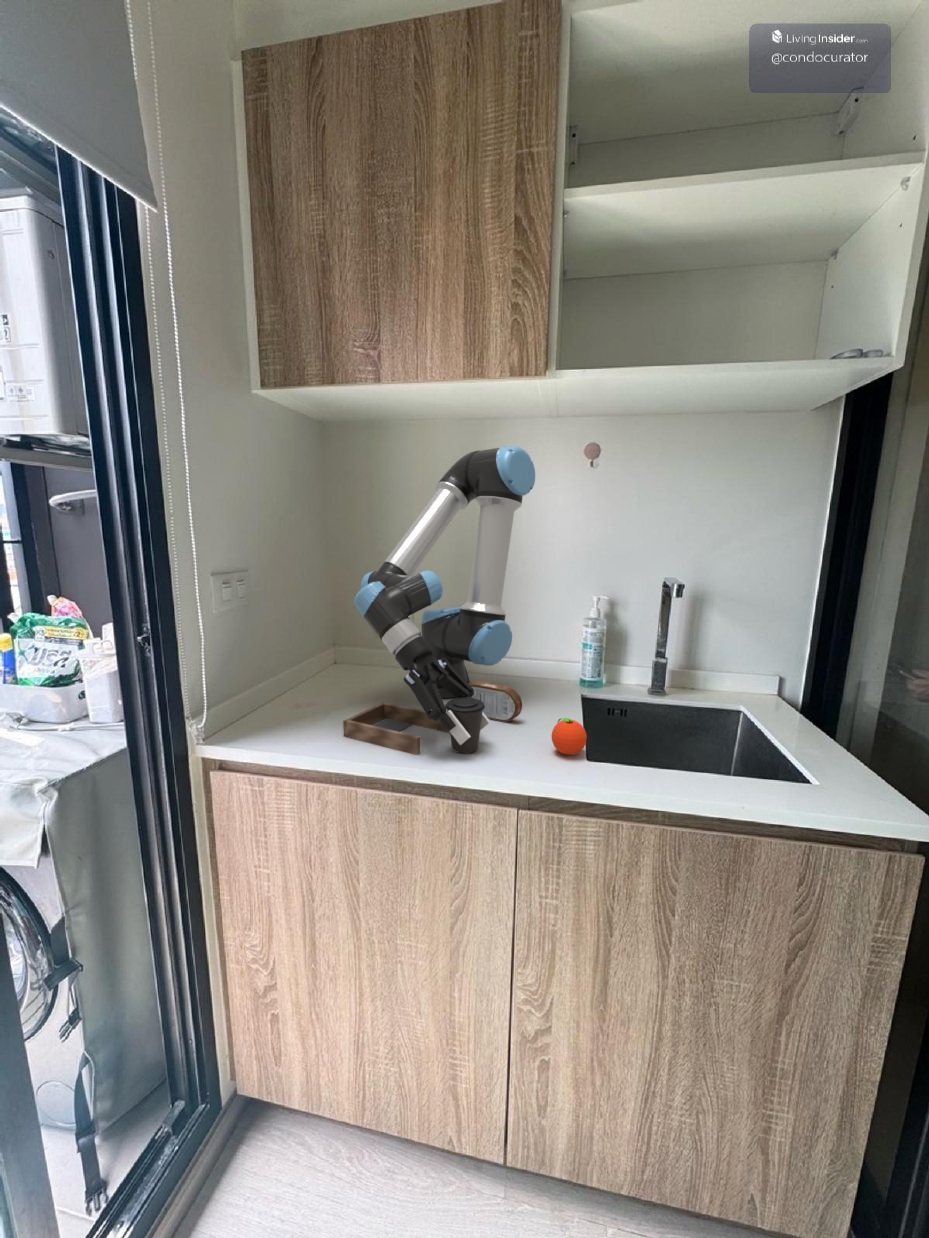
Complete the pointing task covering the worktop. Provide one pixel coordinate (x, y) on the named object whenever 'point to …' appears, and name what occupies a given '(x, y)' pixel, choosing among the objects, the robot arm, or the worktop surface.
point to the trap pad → (393, 725)
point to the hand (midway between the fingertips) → (475, 733)
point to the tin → (497, 700)
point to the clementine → (568, 736)
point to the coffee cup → (467, 721)
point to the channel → (366, 732)
